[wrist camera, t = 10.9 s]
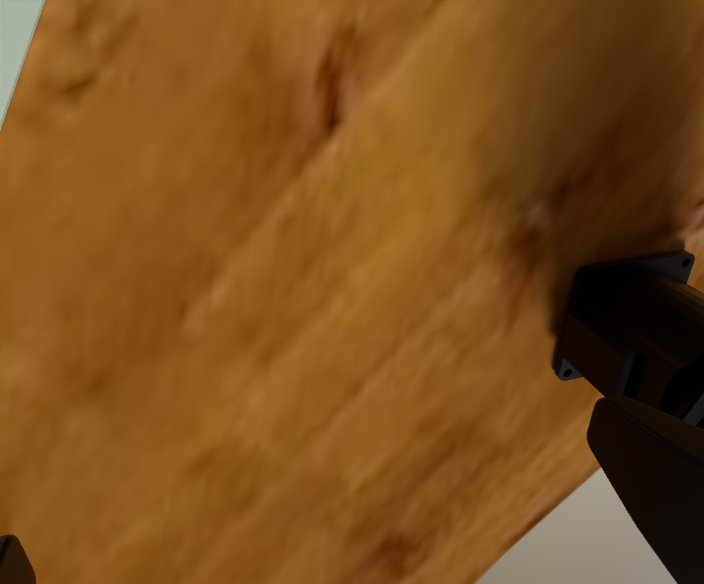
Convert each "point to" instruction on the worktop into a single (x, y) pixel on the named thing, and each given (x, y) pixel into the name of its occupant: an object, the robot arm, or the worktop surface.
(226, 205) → the worktop surface
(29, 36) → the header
